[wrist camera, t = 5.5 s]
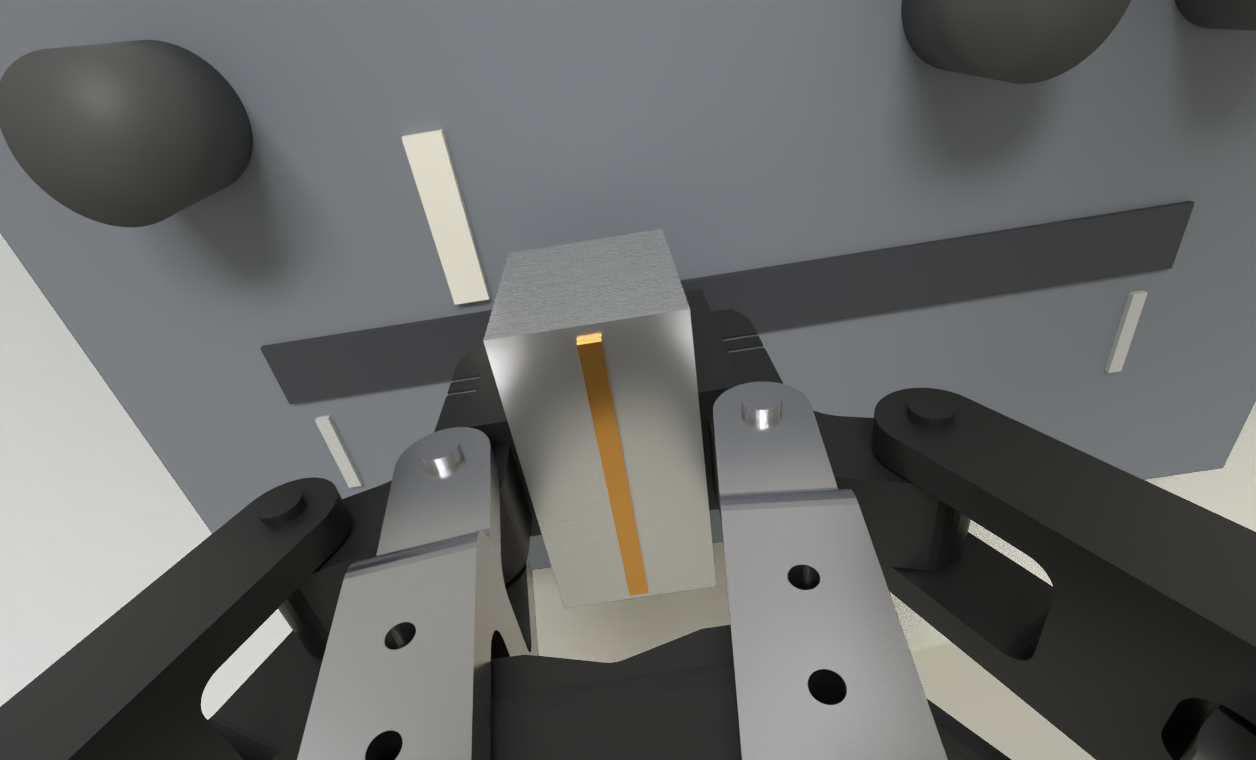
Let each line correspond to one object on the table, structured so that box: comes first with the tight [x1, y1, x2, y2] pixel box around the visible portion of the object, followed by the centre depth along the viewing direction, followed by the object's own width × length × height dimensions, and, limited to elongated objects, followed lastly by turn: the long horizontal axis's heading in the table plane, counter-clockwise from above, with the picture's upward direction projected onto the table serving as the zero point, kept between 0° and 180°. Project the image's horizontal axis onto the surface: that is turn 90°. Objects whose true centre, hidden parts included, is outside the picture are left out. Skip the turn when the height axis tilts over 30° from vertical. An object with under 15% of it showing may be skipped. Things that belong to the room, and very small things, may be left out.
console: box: [0, 0, 1256, 570], centre depth 13 cm, size 26×14×4 cm, turn 98°
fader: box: [483, 229, 716, 608], centre depth 11 cm, size 2×5×5 cm, turn 8°
